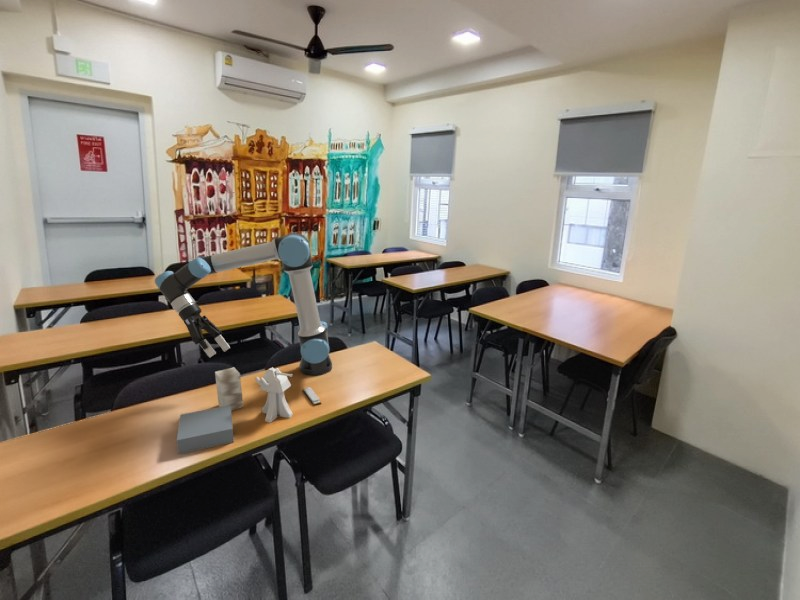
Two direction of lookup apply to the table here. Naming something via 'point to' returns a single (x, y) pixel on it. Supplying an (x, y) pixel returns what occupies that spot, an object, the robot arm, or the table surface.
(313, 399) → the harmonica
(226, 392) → the tall block
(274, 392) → the white mech figurine
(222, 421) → the slate plinth
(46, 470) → the table surface
